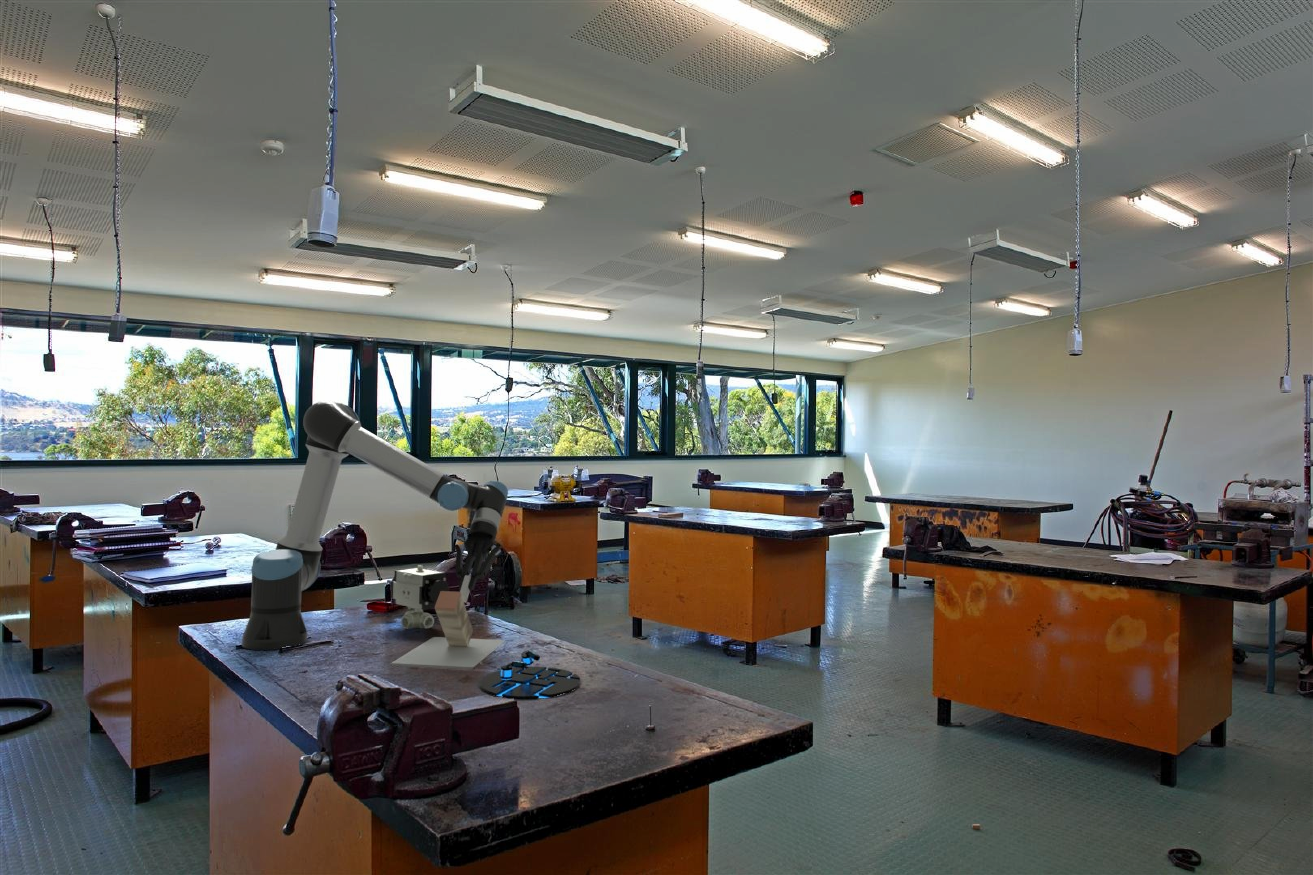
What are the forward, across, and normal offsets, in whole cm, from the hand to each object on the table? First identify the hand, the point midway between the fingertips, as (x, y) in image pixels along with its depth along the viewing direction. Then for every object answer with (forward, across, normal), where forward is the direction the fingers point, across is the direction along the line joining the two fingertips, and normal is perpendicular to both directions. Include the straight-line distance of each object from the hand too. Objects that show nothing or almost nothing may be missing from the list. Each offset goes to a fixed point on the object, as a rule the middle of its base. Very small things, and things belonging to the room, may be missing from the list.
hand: (462, 599), depth 196 cm
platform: (+28, -25, +9) cm, 38 cm away
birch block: (+6, +1, -8) cm, 11 cm away
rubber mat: (+13, +1, -5) cm, 14 cm away
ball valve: (-5, +20, -23) cm, 31 cm away
